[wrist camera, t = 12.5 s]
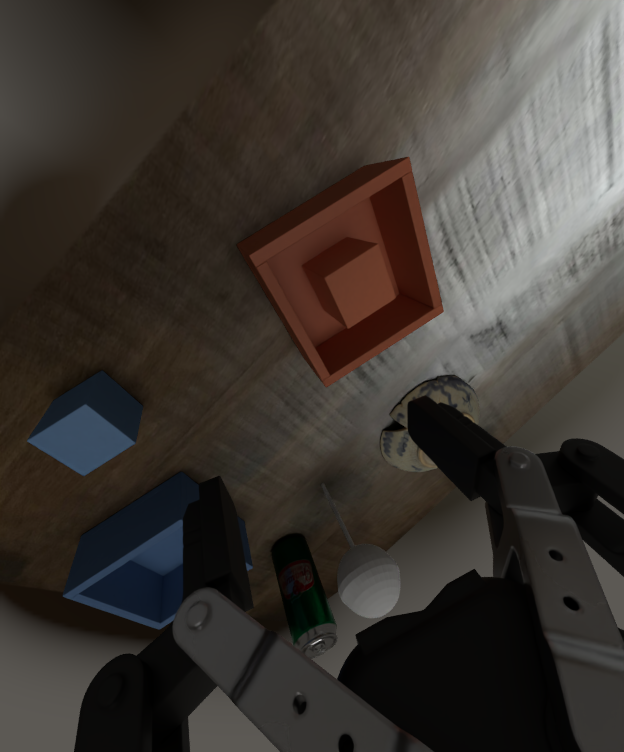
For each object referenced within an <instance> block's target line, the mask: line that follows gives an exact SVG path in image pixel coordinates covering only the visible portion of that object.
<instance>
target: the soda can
mask: <svg viewBox="0 0 624 752" xmlns="http://www.w3.org/2000/svg"><path fill="white" fill-rule="evenodd" d="M272 560H273V564H274V568H275V572H276V576H277V580H278V584H279V588H280V593H281V597H282V601H283V605H284V609H285V613H286V617H287V621H288V625H289V629H290V633H291V637H292V641H293V646H295V647H296V648H297V649H299V650H300V651H301V652H302V653H304V654H305V655H306V656H307V657H309V658H310V659H312V658H315V657H318V656H320V655H322V654H324V653H325V652H327V651H328V650H330V649H331V648H332V647H333V646H334V645H335V643H336V642H337V636H336V629H337V625H336V623H335V619H334V617H333V614H332V611H331V608H330V605H329V603H328V600H327V597H326V594H325V591H324V589H323V586H322V583H321V580H320V577H319V575H318V572H317V569H316V566H315V564H314V561H313V558H312V555H311V552H310V550H309V547H308V544H307V541H306V540H305V539H304V538H302V537H300V536H289V537H286V538H284V539H282V540H281V541H279V542H278V543H277V544H276V546H275V547H274V549H273V551H272Z"/></svg>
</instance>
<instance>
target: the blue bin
mask: <svg viewBox="0 0 624 752" xmlns="http://www.w3.org/2000/svg"><path fill="white" fill-rule="evenodd" d="M197 500H199V485H198V484H197V483H195V482H194V481H193V480H192V479H190V478H189V477H188V476H187V475H185V474H184V473H183V472H179V473H178V474H176V475H175V476H173V477H172V478H170V479H169V480H167V481H166V482H164V483H162V484H161V485H159V486H158V487H156V488H155V489H153V490H152V491H150V492H148V493H147V494H145V495H144V496H142V497H141V498H139V499H138V500H136V501H134V502H133V503H131V504H130V505H128V506H127V507H125V508H124V509H122V510H120V511H119V512H117V513H116V514H114V515H113V516H111V517H110V518H108V519H106V520H105V521H103V522H102V523H100V524H99V525H97V526H96V527H94V528H92V529H91V530H89V531H88V532H86V533H85V534H83V535H82V536H81V538H80V541H79V545H78V548H77V551H76V554H75V557H74V561H73V564H72V567H71V570H70V573H69V577H68V580H67V583H66V586H65V589H64V593H63V597H66V598H68V599H71V600H74V601H77V602H80V603H83V604H86V605H89V606H92V607H95V608H98V609H100V610H103V611H106V612H109V613H112V614H115V615H118V616H121V617H124V618H127V619H130V620H133V621H136V622H139V623H141V624H144V625H147V626H150V627H153V628H157V629H161V628H163V627H164V626H166V625H167V624H168V623H170V622H172V621H173V620H174V618H175V615H176V613H177V610H178V609H179V607H180V605H181V603H182V598H183V517H184V514H185V512H186V509H187V507H188V504H190V503H192V502H194V501H197ZM237 517H238V516H237ZM238 522H239V528H240V534H241V539H242V545H243V550H244V556H245V562H246V567H247V571H248V570H250V569H251V568H253V565H252V560H251V554H250V549H249V544H248V538H247V533H246V528H245V522H244V521H243V520H242V519H241V518H239V517H238Z"/></svg>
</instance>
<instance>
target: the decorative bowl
mask: <svg viewBox="0 0 624 752" xmlns="http://www.w3.org/2000/svg"><path fill="white" fill-rule="evenodd" d="M424 395H426V396H428V397H430V398H431V399H432V400H434V401H435V402H436V403H437V404H438V403H440V402H442V403H445V404H447V405H450V406H452V407H455V408H456V409H457V410H458V411H460V412H461V413H462V414H464V416H466V417H468V418H469V419H470V420H472V422H473V423H476V424H477V425H478V422H479V415H480V409H479V402H478V398H477V396H476V393H475V392H474V390H473V389H472V388H471V387H470V386H469V385H468V384H466V383H465V382H464V381H462V380H461V379H460V378H459V377H457V376H450V375H448V376H442V377H438V378H437V381H435V380H433V381H429V382H425V383H423V384H422V385H420V386H418V387H417V388H416V389H415V390H413V391H412V392H410V393H409V394H407V395H406V397H405V398H404V400H402V402H401V404H399V405H397V407H395V409H394V410H393V411H392V413H391V414H390V416H391V417H392V418H393V419H394V420H396V421H397V422H399V423H400V424H401V425H403V426H404V427H405V428H403V429H399V430H394V431H383V432H382V436H381V440H380V448H381V452H382V455H383V457H384V459H385V460H386V461H387V462H388V463H389V464H390V465H392V466H394V467H396V468H399V469H402V470H405V471H411V472H423V471H428V470H432V469H435V468H437V466H436V465H435V464H434V463H433V461H432V460H431V459H430V458H429V457H428V456H427V455H426V454H425V453H424V452H423V451H422V450H421V449H420V448H419V447H418V446H417V445H416V444H415V443H414V442H413V440H412V439H411V437H410V435H409V433H408V426H407V404H408V402H409V401H411V400H414V399H417V398H419V397H422V396H424Z"/></svg>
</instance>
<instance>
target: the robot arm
mask: <svg viewBox="0 0 624 752" xmlns="http://www.w3.org/2000/svg"><path fill="white" fill-rule="evenodd" d="M407 426H408V433H409V435H410V437H411V439H412V440H413V442H414V443H415V444H416V445H417V446H418V447H419V448H420V449H421V450H422V451H423V452H424V453H425V454H426V455H427V456H428V457H429V458H430V459H431V460H432V461H433V463H434V464H435V465H436V466H437V467H438V468H439V469H440V470H441V471H442V472H443V473H444V474H445V475H446V476H447V477H448V478H449V479H450V480H451V481H452V482H453V483H454V484H455V485H456V486H457V487H458V488H459V489H460V490H461V491H462V493H464V495H465V496H466V497H467V498H468V499H469V500H470V501H472V500H474V499H476V498H478V497H480V496H481V497H482V498H483V499H484V500H485V501H486V503H485V508H486V514H487V520H488V526H489V532H490V538H491V544H492V550H493V577H481V576H480V575H479V574H478V573H477V571H476V570H475V569H473V570H471V571H470V572H468V573H466V574H464V575H462V576H461V577H459V578H457V579H455V580H453V581H452V582H450V583H448V584H447V585H446V586H445V587H444V588H443V589H442V590H441V591H440V593H439V594H438V595H437V596H436V597H435V598H434V600H433V601H432V602H431V603H430V604H429V605H428V606H427V607H426V608H425V609H424V610H422V611H418V612H413V613H408V614H402V615H396V616H391V617H387V618H385V619H383V620H381V621H379V622H377V623H376V624H374V625H372V626H370V627H368V628H367V629H365V630H363V631H361V632H359V633H358V634H356V639H357V643H358V645H357V646H356V647H355V648H354V649H353V651H352V652H351V653H350V655H349V656H348V657H347V659H346V661H345V662H344V665H343V666H342V668H341V670H340V673H339V676H338V678H337V679H336V678H334V677H333V676H332V675H331V674H329V673H328V672H327V671H325V670H324V669H323V668H322V667H320V666H319V665H318V664H316V663H315V662H314V661H313V660H311V659H310V658H309V657H307V656H306V655H305V654H304V653H302V652H301V651H300V650H299V649H297V648H296V647H295V646H293V645H292V644H291V643H290V642H288V641H287V640H285V639H284V638H283V637H282V636H280V635H279V634H277V633H276V632H274V631H269V630H267V629H266V628H264V627H263V626H262V625H260V624H259V623H258V622H257V621H255V620H254V619H253V618H252V617H250V616H249V615H248V614H247V613H245V612H246V611H248V610H250V609H252V608H254V606H253V601H252V595H251V590H250V584H249V578H248V573H247V567H246V562H245V556H244V550H243V545H242V539H241V534H240V528H239V522H238V517H237V513H236V509H235V506H234V503H233V501H232V499H231V497H230V495H229V493H228V491H227V489H226V487H225V485H224V483H223V481H222V479H221V477H220V476H217V477H215V478H212V479H210V480H207V481H205V482H202V483H200V484H199V500H197V501H194V502H192V503H190V504H188V507H187V509H186V512H185V514H184V517H183V598H182V603H181V605H180V607H179V609H178V610H177V613H176V615H175V618H174V620H173V621H172V623H171V624H170V625H169V627H168V628H167V629H166V630H165V631H164V632H163V633H162V634H161V635H160V636H159V637H157V638H156V639H155V640H154V641H153V642H152V643H151V644H149V645H148V646H147V647H146V648H145V649H144V650H143V651H141V652H140V653H139V654H138V655H137V656H135V655H133V654H123V655H120V656H118V657H115V658H114V659H112V660H111V661H110V662H108V663H107V664H106V665H105V666H104V667H103V668H102V669H101V670H100V671H99V672H98V673H97V675H96V676H95V677H94V679H93V680H92V682H91V683H90V685H89V687H88V689H87V691H86V693H85V695H84V699H83V701H82V705H81V710H80V717H79V723H78V729H77V736H76V743H75V749H74V752H190V743H189V727H188V716H189V715H190V714H191V713H192V712H193V711H194V710H195V709H196V708H197V706H198V705H199V704H200V703H201V702H202V701H203V700H204V699H205V698H206V697H207V696H208V695H209V694H210V693H211V692H212V691H213V690H214V689H215V688H216V687H217V686H219V688H220V689H221V690H223V692H224V693H225V694H226V695H227V696H228V697H229V698H230V699H231V700H232V702H233V703H234V704H235V705H236V706H237V707H238V708H239V709H240V711H241V712H243V714H244V715H245V716H246V717H247V718H248V719H249V720H250V721H251V722H252V723H253V724H254V725H255V726H256V727H257V728H258V729H259V730H260V731H261V732H262V733H263V734H264V735H265V736H266V737H267V738H268V739H269V741H270V742H271V743H272V744H273V745H274V746H275V747H276V748H277V749H278V750H279V751H280V752H624V630H622V629H620V628H618V627H617V624H616V622H615V620H614V617H613V615H612V612H611V610H610V607H609V605H608V602H607V600H606V597H605V595H604V592H603V590H602V587H601V585H600V582H599V580H598V577H597V575H596V572H595V570H594V567H593V565H592V563H591V560H590V557H589V555H588V552H587V550H586V548H585V545H584V543H583V540H584V541H585V542H586V543H587V544H588V545H589V546H590V547H591V548H592V549H594V550H595V551H596V552H597V553H598V554H599V555H600V556H601V557H602V558H603V559H605V560H606V561H607V562H608V563H609V564H610V565H611V566H612V567H613V568H615V569H616V570H617V571H618V572H619V573H620V574H621V575H622V576H623V577H624V519H622V518H621V517H620V516H618V515H617V514H616V513H615V512H613V511H612V510H611V509H609V508H608V507H607V506H606V505H604V504H603V503H602V502H600V501H599V500H598V499H597V496H598V495H599V496H600V497H602V498H603V499H604V500H605V501H607V502H608V503H609V504H611V505H612V506H613V507H615V508H616V509H617V510H619V511H620V512H621V513H623V514H624V459H622V458H621V457H619V456H618V455H616V454H615V453H613V452H611V451H610V450H608V449H606V448H605V447H603V446H601V445H600V444H598V443H595V442H593V441H589V440H585V439H569V440H566V441H564V442H563V444H562V445H561V448H560V451H557V452H548V453H540V454H534V453H532V452H531V451H529V450H526V449H524V448H520V447H512V446H509V447H507V446H505V445H504V444H502V443H501V442H500V441H498V440H497V439H496V438H494V437H493V436H492V435H490V434H489V433H488V432H486V431H485V430H484V429H482V428H481V427H480V426H478V425H477V424H476V423H473V422H472V420H470V419H469V418H468V417H466V416H464V414H462V413H461V412H460V411H458V410H457V409H456V408H455V407H452V406H450V405H447V404H445V403H442V402H440V403H438V404H437V403H436V402H435V401H434V400H432V399H431V398H430V397H428V396H426V395H424V396H422V397H419V398H417V399H414V400H411V401H409V402H408V404H407Z"/></svg>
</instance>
